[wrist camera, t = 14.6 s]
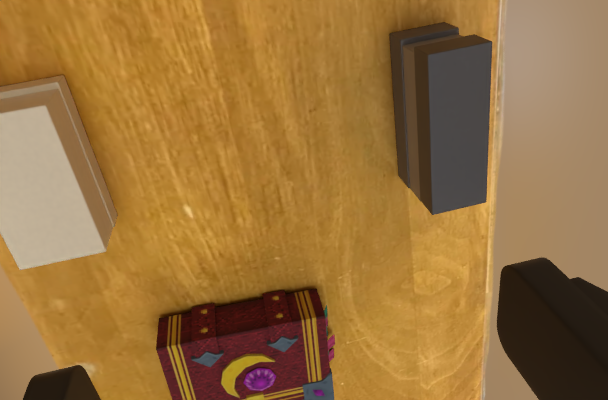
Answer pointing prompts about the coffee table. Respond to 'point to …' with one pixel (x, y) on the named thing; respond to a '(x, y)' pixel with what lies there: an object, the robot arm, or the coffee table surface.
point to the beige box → (76, 132)
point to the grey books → (442, 114)
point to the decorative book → (249, 350)
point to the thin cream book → (44, 188)
